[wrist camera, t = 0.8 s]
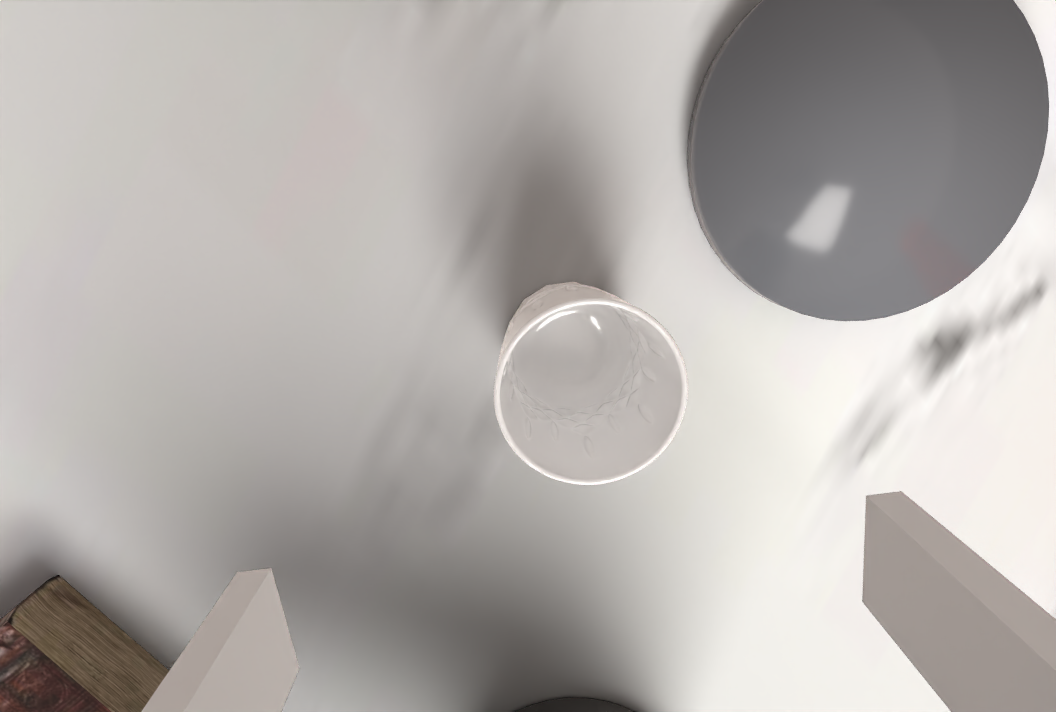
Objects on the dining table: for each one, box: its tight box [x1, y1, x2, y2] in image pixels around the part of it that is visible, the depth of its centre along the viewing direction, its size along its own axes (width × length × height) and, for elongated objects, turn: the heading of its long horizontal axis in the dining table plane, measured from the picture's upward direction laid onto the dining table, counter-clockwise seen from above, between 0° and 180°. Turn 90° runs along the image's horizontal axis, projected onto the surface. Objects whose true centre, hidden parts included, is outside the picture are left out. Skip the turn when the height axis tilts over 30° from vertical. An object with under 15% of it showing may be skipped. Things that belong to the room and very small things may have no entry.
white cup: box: [494, 282, 688, 485], centre depth 30 cm, size 8×8×10 cm
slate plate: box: [687, 0, 1049, 321], centre depth 32 cm, size 18×18×2 cm
